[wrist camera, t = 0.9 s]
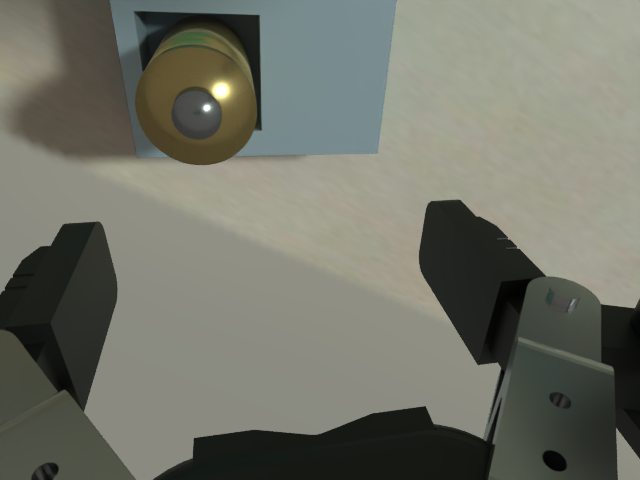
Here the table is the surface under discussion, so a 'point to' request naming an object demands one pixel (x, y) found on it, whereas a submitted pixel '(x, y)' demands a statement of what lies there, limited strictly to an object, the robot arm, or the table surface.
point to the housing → (282, 67)
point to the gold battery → (198, 93)
